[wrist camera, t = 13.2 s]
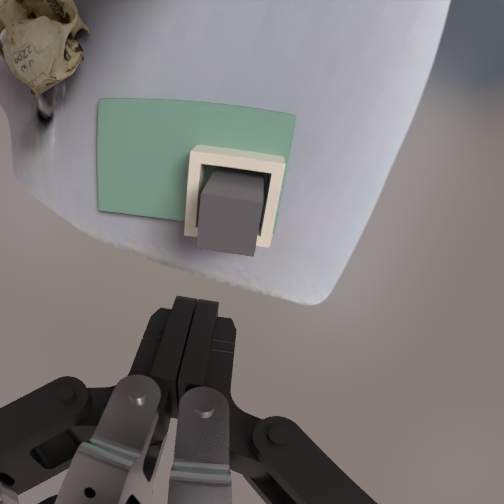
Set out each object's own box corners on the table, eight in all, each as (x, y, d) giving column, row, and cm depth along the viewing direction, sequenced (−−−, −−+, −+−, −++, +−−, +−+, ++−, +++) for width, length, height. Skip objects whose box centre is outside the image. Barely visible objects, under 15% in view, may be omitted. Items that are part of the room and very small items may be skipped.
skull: (81, -62, 15) (26, -69, 8) (122, 49, 26) (79, 73, 19) (15, -16, 16) (-43, -3, 9) (56, 84, 27) (7, 119, 20)
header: (197, 144, 28) (190, 151, 25) (283, 156, 28) (285, 164, 25) (190, 222, 32) (184, 235, 29) (269, 233, 32) (269, 247, 29)
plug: (216, 165, 29) (200, 193, 22) (263, 172, 29) (263, 202, 22) (211, 213, 31) (195, 254, 24) (255, 220, 31) (252, 262, 24)
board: (103, 98, 26) (99, 99, 25) (295, 114, 27) (296, 115, 26) (102, 206, 32) (98, 210, 31) (273, 229, 33) (274, 234, 32)
